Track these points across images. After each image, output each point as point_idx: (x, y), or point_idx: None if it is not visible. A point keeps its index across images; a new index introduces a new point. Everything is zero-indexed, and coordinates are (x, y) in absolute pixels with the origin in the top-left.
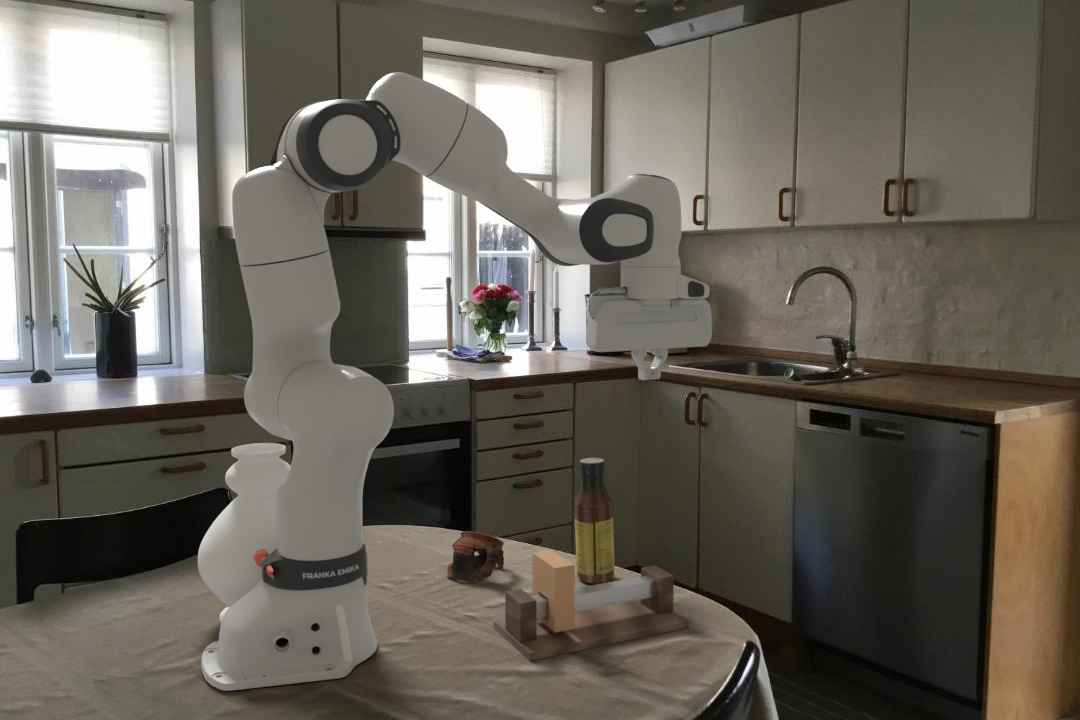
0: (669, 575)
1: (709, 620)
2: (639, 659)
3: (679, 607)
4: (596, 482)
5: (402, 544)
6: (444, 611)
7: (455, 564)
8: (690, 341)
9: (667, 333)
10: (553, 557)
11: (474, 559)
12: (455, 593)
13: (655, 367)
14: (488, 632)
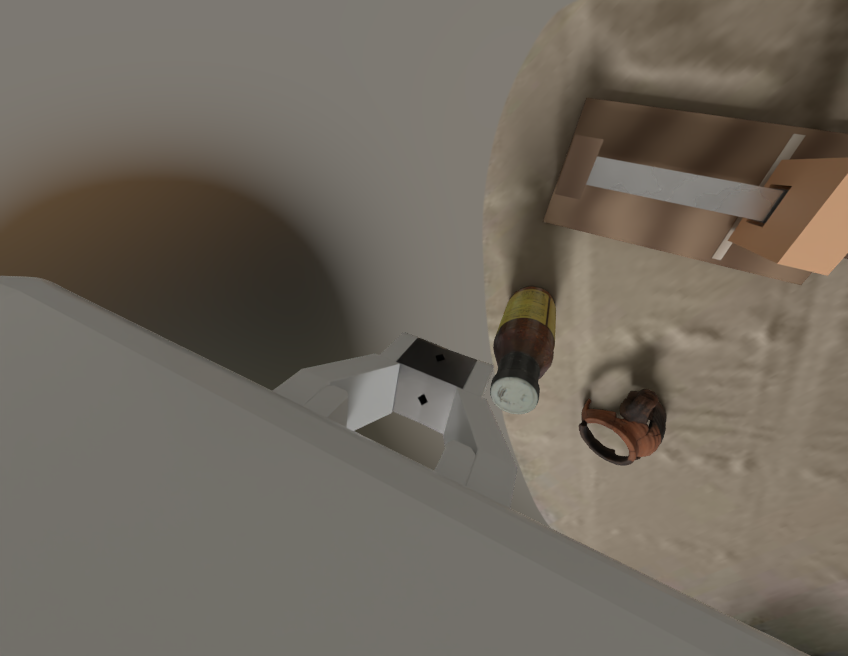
0: (579, 140)
1: (541, 103)
2: (766, 34)
3: (532, 168)
4: (527, 360)
5: (603, 512)
6: (779, 366)
7: (664, 430)
8: (76, 327)
9: (140, 487)
10: (831, 226)
11: (654, 416)
12: (703, 392)
13: (401, 375)
14: (819, 275)
